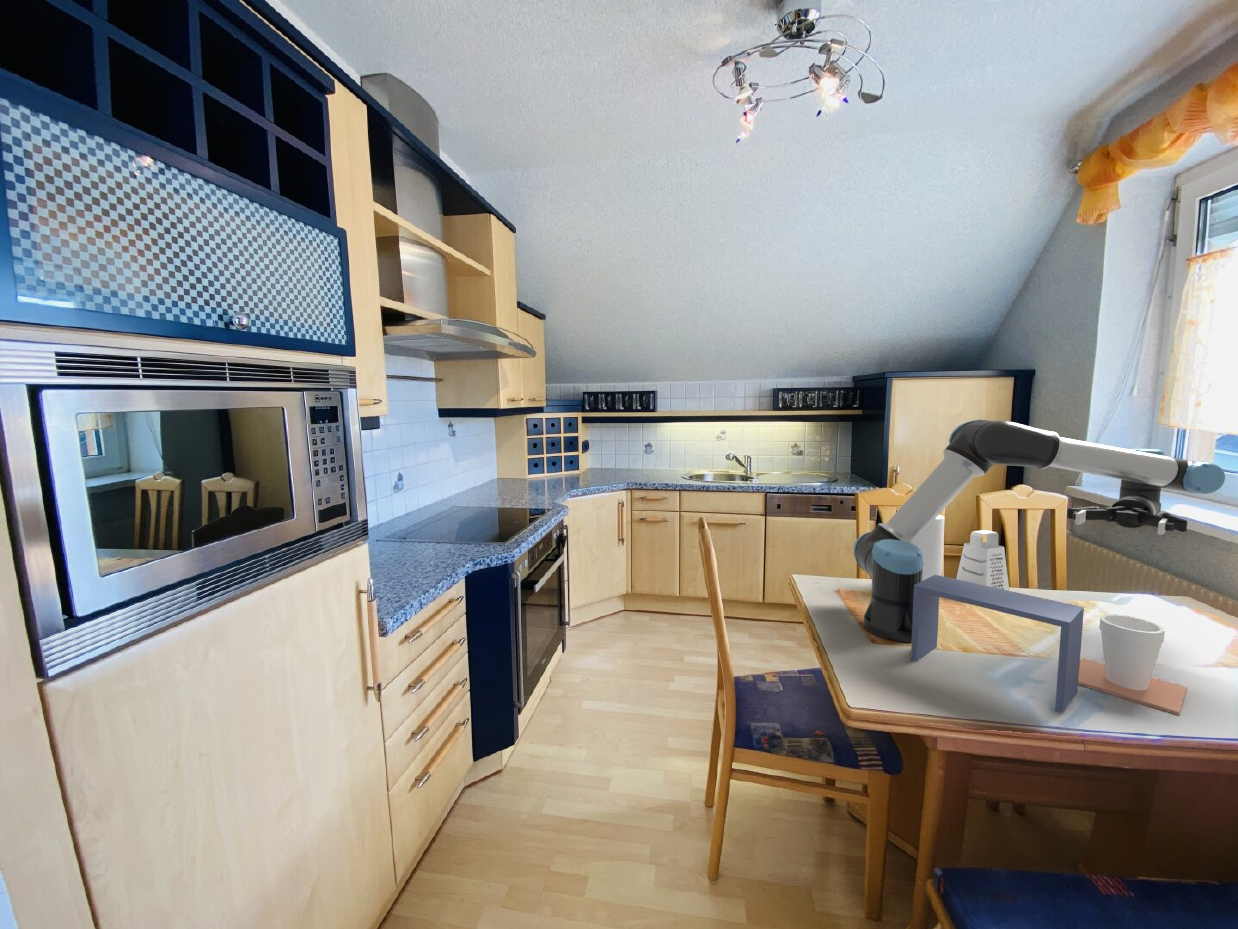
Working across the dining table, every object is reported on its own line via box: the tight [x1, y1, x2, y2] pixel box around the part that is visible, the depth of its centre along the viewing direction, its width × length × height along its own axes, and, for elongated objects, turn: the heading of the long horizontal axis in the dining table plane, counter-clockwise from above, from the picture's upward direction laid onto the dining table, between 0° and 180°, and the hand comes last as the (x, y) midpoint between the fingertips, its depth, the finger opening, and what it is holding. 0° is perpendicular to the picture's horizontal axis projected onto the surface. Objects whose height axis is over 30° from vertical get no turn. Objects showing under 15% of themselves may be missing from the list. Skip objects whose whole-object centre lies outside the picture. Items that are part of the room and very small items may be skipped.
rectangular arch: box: [910, 575, 1085, 714], centre depth 109 cm, size 27×12×18 cm, turn 37°
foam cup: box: [1099, 614, 1166, 690], centre depth 104 cm, size 10×9×13 cm
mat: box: [1078, 657, 1188, 716], centre depth 105 cm, size 16×14×1 cm
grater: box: [955, 529, 1010, 591], centre depth 159 cm, size 10×10×20 cm
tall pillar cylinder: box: [914, 514, 945, 581], centre depth 162 cm, size 11×11×25 cm
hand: (1117, 523), depth 114 cm, fingers open, 13 cm apart
